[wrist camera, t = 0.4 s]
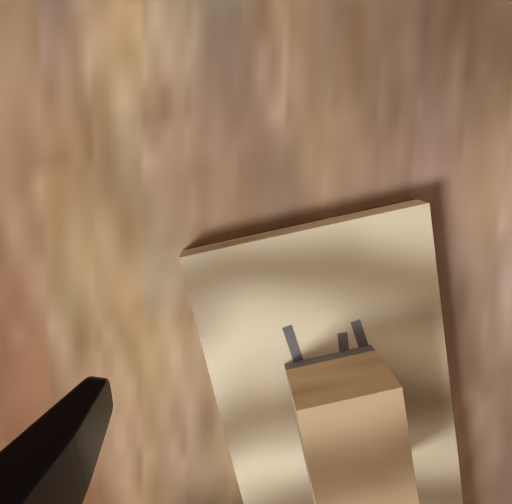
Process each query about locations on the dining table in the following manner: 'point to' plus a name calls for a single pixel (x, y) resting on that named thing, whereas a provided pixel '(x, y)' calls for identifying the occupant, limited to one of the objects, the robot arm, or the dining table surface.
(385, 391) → the block
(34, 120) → the dining table surface
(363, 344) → the board
